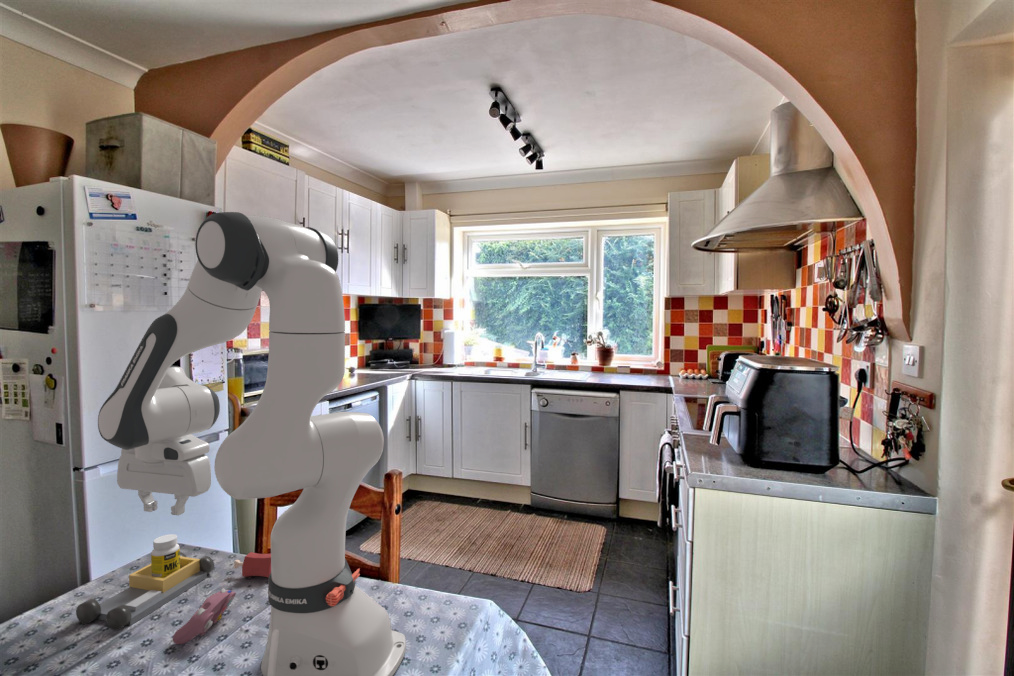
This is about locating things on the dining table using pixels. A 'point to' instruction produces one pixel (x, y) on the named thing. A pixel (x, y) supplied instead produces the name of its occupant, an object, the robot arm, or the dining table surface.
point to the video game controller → (205, 616)
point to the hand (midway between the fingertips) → (164, 512)
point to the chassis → (145, 593)
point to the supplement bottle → (165, 556)
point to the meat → (255, 565)
